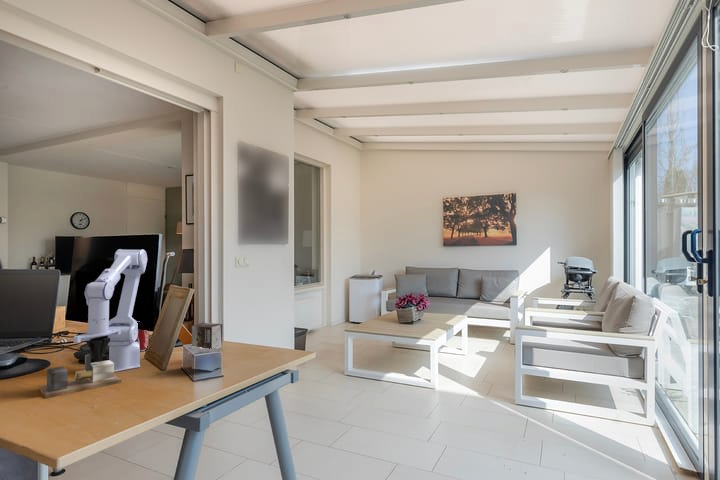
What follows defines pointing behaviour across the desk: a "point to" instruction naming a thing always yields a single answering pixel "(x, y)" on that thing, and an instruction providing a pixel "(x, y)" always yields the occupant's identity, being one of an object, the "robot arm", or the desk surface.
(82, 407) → the desk surface
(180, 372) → the desk surface
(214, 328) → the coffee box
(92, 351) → the robot arm
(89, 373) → the slip tube
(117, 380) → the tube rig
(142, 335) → the soda can
